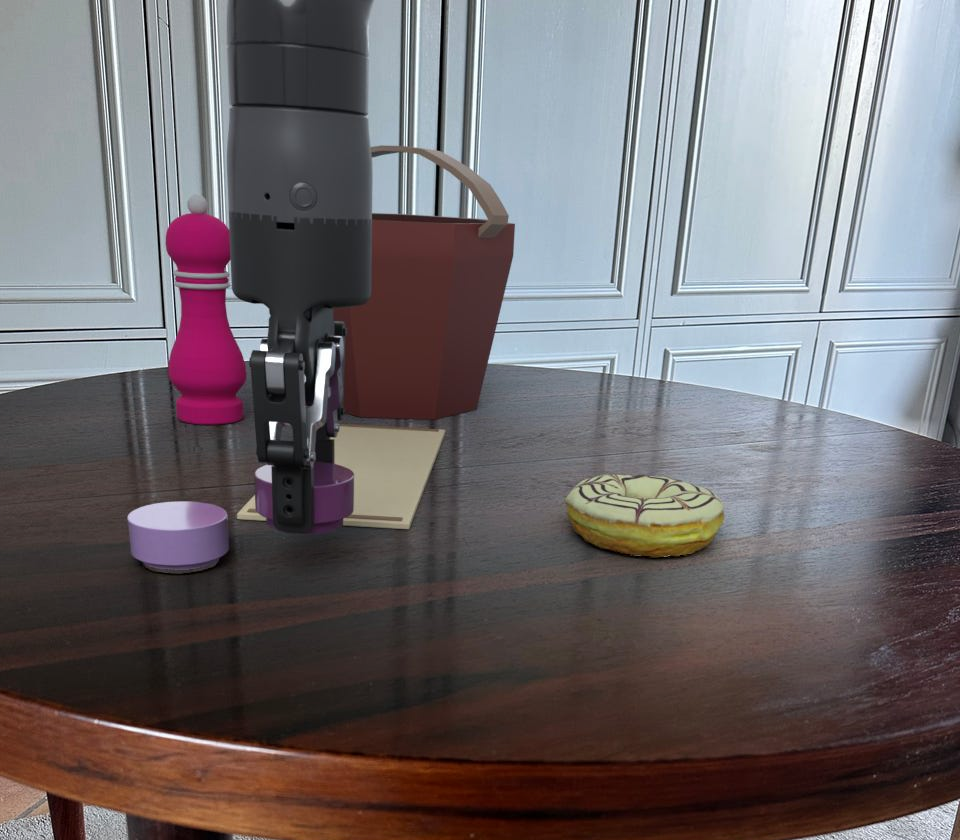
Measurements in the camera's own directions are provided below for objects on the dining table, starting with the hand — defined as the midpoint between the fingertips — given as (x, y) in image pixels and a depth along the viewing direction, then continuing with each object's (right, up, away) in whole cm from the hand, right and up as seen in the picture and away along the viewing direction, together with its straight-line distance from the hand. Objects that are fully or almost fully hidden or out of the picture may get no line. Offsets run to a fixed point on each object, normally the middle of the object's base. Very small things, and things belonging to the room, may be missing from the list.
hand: (305, 512), depth 61 cm
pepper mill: (-16, +14, +39) cm, 44 cm away
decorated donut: (+22, -1, +10) cm, 24 cm away
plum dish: (0, -1, 0) cm, 1 cm away
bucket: (+2, +18, +50) cm, 53 cm away
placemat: (0, +6, +23) cm, 24 cm away
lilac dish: (-8, -3, +2) cm, 9 cm away
